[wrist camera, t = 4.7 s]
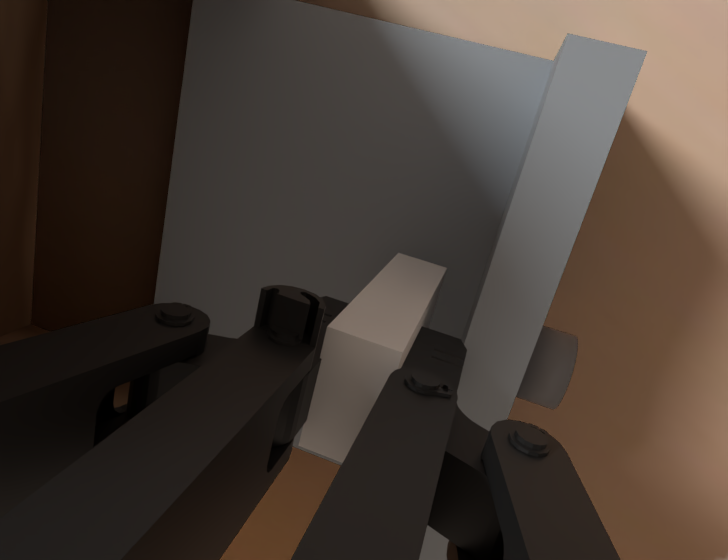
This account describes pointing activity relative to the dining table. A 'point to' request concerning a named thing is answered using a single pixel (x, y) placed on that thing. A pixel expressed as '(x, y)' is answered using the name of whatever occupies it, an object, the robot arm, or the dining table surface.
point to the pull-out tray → (389, 179)
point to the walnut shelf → (22, 164)
